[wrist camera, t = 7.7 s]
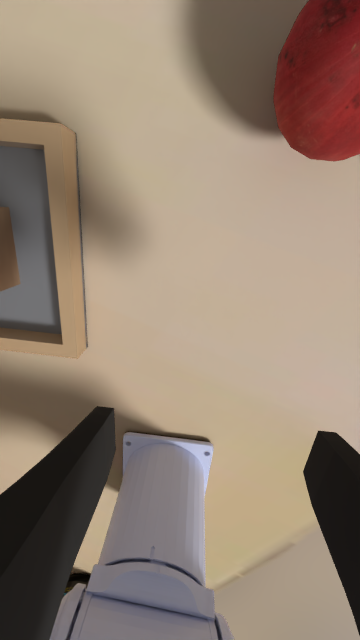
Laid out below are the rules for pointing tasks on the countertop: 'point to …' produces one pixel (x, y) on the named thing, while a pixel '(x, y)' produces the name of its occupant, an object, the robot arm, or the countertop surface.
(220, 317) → the countertop surface
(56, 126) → the slate tray
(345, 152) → the onion
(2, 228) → the walnut block
